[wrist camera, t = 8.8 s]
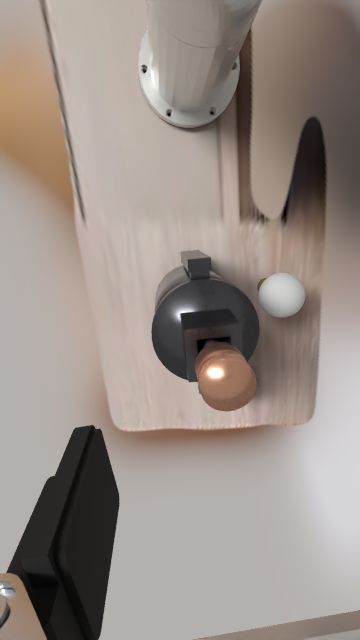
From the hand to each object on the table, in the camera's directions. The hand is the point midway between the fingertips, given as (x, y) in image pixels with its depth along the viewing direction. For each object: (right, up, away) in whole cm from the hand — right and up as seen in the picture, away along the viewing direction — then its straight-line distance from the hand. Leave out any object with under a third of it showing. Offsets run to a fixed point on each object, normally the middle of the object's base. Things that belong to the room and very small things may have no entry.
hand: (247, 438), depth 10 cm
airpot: (0, +7, +37) cm, 38 cm away
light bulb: (+11, +9, +38) cm, 40 cm away
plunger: (+1, +2, +22) cm, 22 cm away
